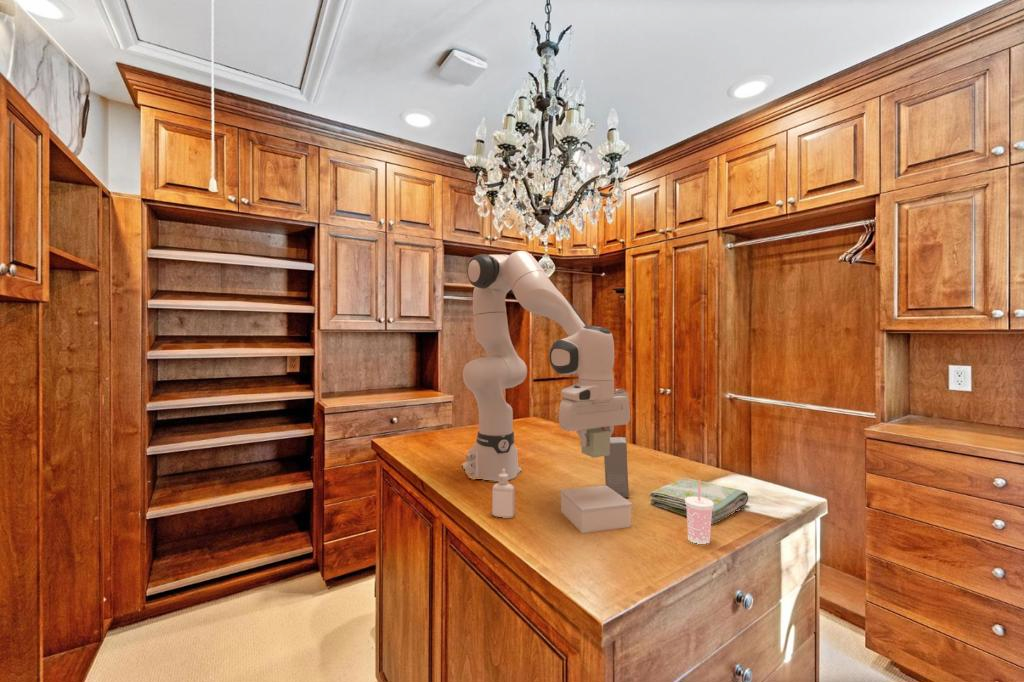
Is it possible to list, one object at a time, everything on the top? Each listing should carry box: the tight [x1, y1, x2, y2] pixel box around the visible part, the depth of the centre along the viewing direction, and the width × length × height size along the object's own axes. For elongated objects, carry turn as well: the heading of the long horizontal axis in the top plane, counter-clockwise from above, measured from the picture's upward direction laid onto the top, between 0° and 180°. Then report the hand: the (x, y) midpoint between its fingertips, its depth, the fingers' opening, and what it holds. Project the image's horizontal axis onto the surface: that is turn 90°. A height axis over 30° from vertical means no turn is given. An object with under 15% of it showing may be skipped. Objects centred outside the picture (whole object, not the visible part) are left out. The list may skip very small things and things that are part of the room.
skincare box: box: [603, 436, 630, 499], centre depth 132 cm, size 8×7×16 cm
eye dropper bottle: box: [491, 469, 516, 519], centre depth 115 cm, size 4×6×12 cm
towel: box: [649, 477, 749, 525], centre depth 123 cm, size 18×21×5 cm
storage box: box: [560, 484, 634, 534], centre depth 114 cm, size 13×13×6 cm
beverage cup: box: [685, 478, 714, 545], centre depth 102 cm, size 6×6×14 cm
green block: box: [581, 427, 610, 458], centre depth 113 cm, size 5×5×6 cm
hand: (595, 444), depth 113 cm, fingers closed on green block, 5 cm apart
